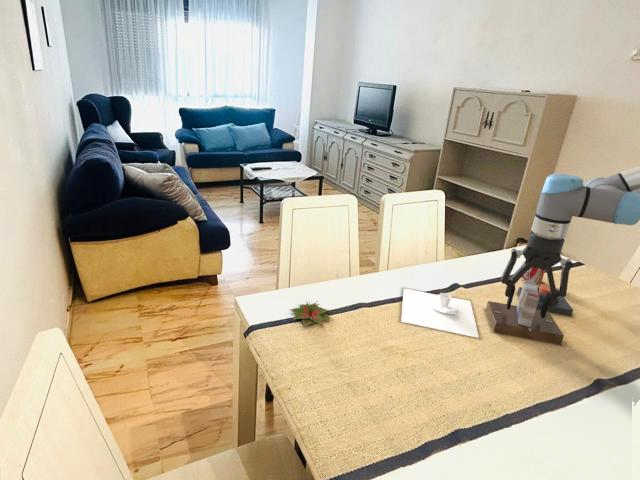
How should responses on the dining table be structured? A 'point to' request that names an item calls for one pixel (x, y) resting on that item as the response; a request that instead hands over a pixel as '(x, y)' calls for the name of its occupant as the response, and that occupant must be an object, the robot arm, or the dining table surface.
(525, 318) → the grey marble block
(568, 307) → the button block
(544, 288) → the button
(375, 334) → the dining table surface
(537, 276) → the beverage can
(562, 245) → the robot arm
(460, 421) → the dining table surface
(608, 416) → the dining table surface
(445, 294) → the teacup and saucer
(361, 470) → the dining table surface
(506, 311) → the dark brown rectangular block
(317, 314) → the christmas pine decoration
